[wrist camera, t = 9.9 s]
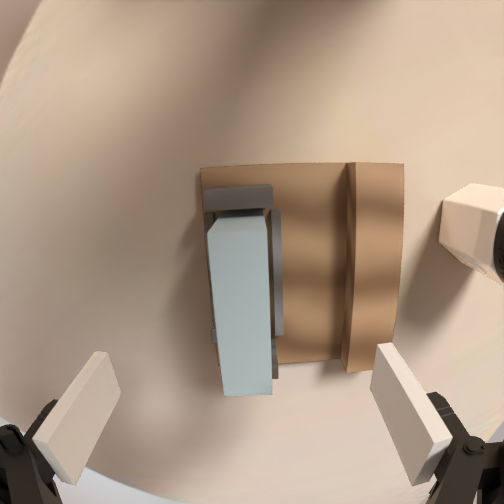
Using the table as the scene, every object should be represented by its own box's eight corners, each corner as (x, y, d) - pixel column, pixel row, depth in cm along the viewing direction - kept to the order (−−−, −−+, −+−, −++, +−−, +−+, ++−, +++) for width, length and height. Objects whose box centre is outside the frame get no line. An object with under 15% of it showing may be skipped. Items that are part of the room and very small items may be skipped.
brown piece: (202, 168, 29) (189, 168, 23) (390, 163, 29) (420, 164, 23) (219, 359, 34) (213, 394, 28) (379, 347, 34) (399, 378, 28)
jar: (423, 231, 30) (494, 264, 19) (458, 169, 28) (536, 176, 17) (469, 273, 31) (535, 313, 20) (501, 216, 30) (572, 238, 18)
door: (211, 211, 29) (190, 234, 19) (262, 209, 29) (266, 230, 19) (222, 332, 32) (210, 395, 22) (267, 331, 32) (272, 394, 22)
